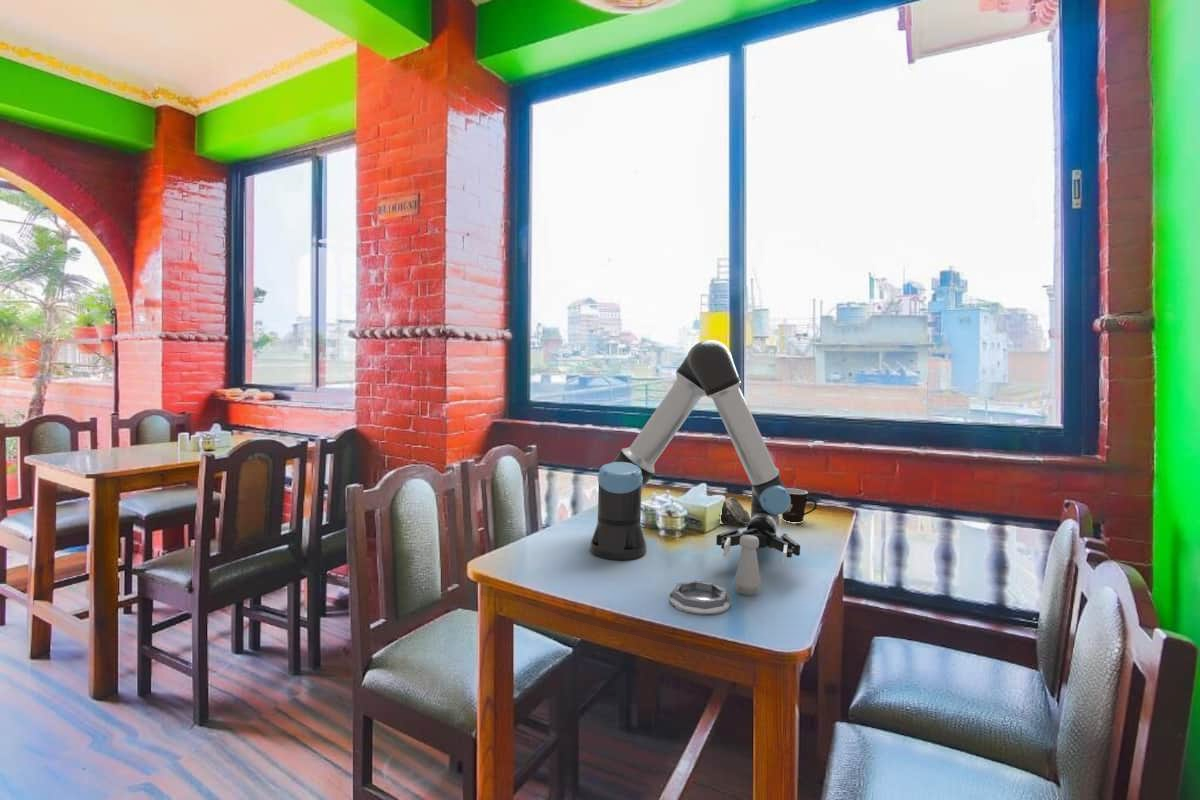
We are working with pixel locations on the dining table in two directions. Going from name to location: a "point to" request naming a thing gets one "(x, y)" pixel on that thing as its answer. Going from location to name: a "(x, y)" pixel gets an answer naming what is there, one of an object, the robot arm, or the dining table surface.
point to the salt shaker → (748, 566)
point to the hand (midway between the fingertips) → (754, 554)
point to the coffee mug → (797, 505)
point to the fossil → (734, 512)
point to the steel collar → (700, 597)
